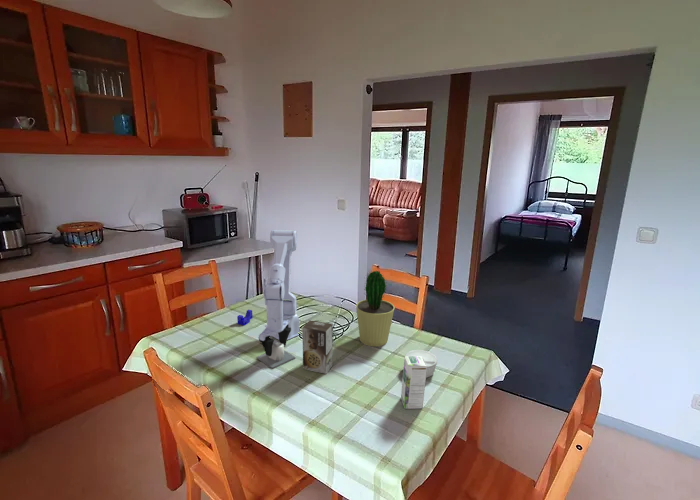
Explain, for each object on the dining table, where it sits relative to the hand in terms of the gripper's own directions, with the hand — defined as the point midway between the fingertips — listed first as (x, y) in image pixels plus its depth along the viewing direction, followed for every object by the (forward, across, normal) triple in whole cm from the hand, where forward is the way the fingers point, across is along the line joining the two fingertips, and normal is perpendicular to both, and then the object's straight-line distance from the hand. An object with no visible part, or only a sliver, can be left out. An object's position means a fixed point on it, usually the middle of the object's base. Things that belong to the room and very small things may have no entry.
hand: (275, 350), depth 136 cm
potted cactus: (+3, -33, +24) cm, 40 cm away
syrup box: (+3, -3, +52) cm, 52 cm away
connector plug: (+3, 0, 0) cm, 3 cm away
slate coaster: (+3, 0, 0) cm, 3 cm away
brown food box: (+3, -4, +16) cm, 17 cm away
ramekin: (+3, -21, +48) cm, 52 cm away
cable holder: (+4, -17, -32) cm, 36 cm away
